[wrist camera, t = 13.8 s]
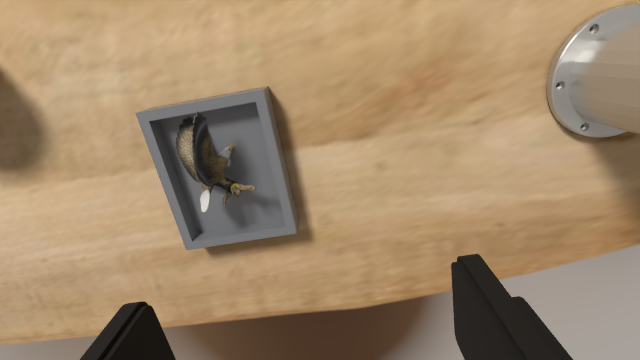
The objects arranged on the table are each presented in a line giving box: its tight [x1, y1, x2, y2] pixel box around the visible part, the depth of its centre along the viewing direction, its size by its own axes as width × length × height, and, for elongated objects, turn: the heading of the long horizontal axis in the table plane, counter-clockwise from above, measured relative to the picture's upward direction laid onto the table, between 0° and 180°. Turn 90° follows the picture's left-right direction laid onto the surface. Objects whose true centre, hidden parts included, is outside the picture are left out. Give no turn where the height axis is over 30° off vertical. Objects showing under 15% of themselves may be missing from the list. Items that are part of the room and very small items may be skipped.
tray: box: [136, 86, 299, 250], centre depth 37 cm, size 13×16×3 cm
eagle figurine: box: [176, 111, 256, 213], centre depth 34 cm, size 8×7×9 cm
